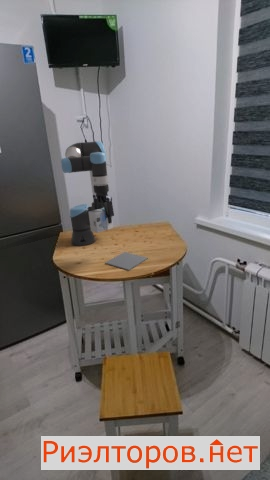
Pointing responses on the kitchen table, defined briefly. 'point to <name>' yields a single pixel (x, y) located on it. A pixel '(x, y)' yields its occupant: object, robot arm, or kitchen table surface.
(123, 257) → the grey mat
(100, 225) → the light bulb box
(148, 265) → the kitchen table surface
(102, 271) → the kitchen table surface
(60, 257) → the kitchen table surface
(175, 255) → the kitchen table surface
